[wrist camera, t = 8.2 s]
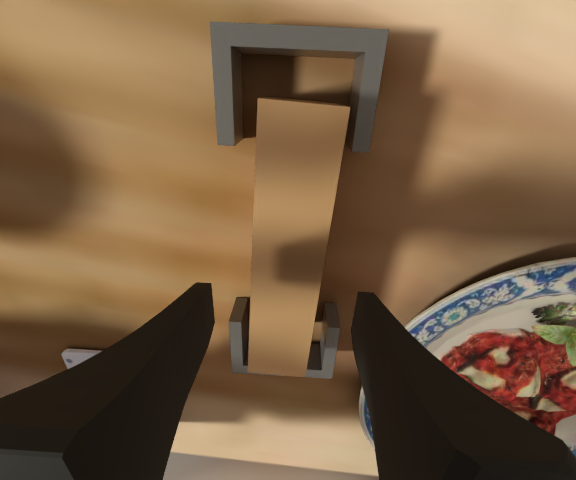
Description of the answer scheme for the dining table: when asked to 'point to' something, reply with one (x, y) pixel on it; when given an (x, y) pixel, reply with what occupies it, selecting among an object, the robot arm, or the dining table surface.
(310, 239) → the slat
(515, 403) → the ceramic plate
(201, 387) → the dining table surface
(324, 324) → the end cap
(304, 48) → the end cap
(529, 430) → the robot arm
